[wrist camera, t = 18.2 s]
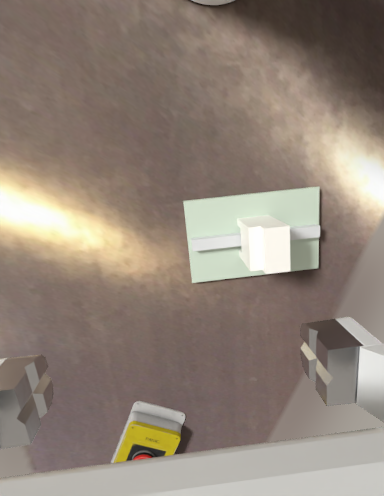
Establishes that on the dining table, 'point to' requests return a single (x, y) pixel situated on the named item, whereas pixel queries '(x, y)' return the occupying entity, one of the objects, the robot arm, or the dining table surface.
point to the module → (265, 244)
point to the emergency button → (149, 433)
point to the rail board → (229, 236)
